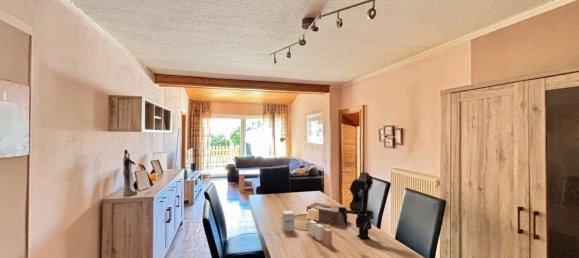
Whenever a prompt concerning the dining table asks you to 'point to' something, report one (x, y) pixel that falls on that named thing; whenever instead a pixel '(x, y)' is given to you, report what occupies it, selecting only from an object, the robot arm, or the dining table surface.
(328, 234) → the terracotta key
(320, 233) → the middle key
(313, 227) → the far key
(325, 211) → the tissue box cover
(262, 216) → the dining table surface
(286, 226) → the supplement box
